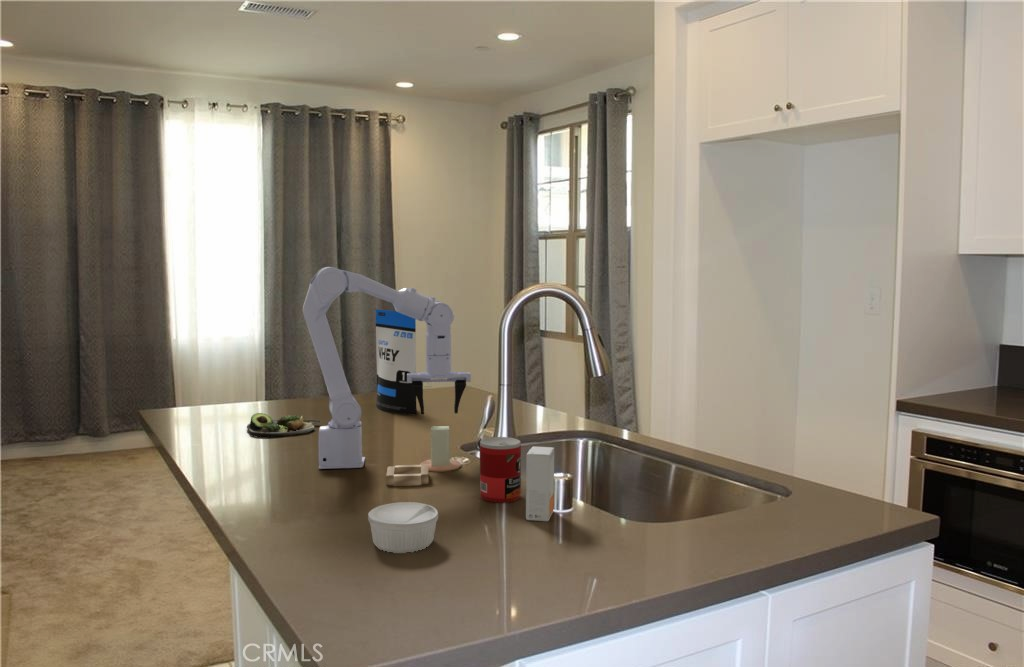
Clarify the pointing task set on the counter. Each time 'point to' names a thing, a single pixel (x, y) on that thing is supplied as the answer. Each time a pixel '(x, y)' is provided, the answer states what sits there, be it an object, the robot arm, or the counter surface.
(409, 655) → the counter surface
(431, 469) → the terracotta coaster
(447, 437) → the sage peg
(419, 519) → the ramekin
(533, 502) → the skincare box
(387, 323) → the protein powder
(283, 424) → the salad plate
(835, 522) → the counter surface
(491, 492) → the canned food
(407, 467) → the oak holder
